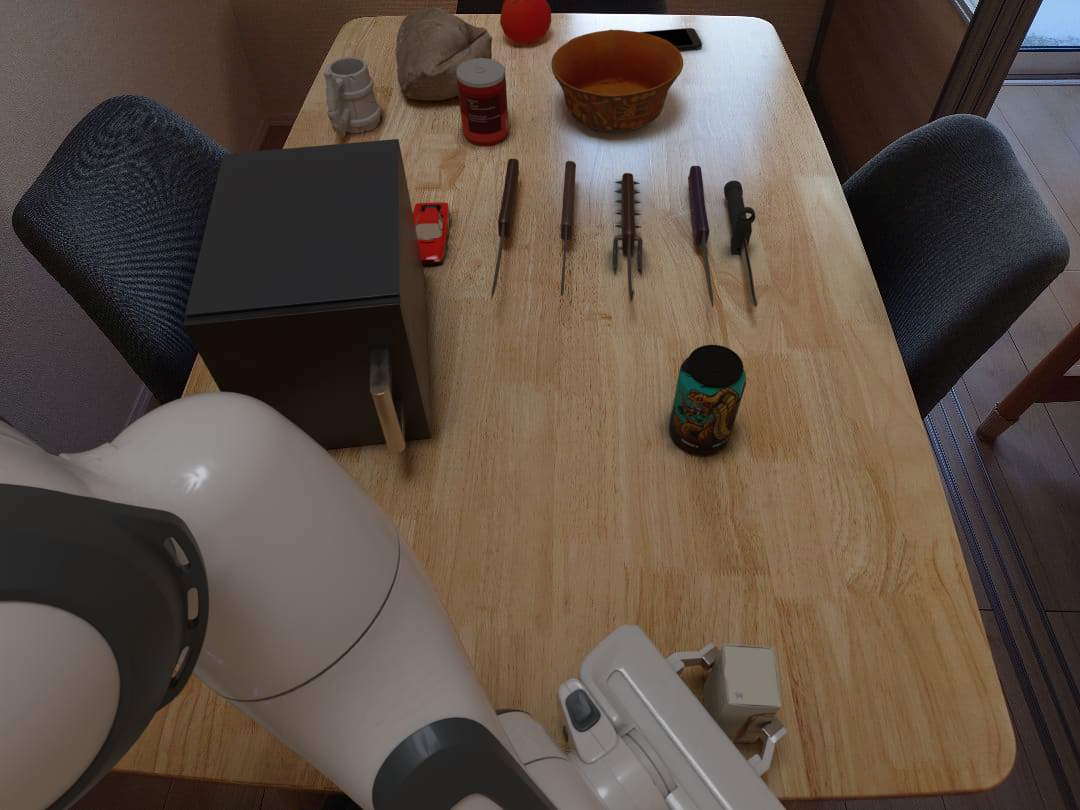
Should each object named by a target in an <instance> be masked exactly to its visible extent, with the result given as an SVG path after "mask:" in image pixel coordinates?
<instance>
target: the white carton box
mask: <svg viewBox="0 0 1080 810" xmlns="http://www.w3.org/2000/svg"><path fill="white" fill-rule="evenodd" d="M719 650H720V652H719V654H718V657H717V659H716V661H715V663H714V665H713V667H712V668H711V669H710V671H709V674H708V676H707V677H706V680H705V683H704V684H703V699H704V701H703V702H704V708H705V709H706V710H707V711H708V713H709V714H710V715H711V716H712V718H713V719H714V720H715V721H716V723H717V724H718V725H719V726H720V728H721V729H722V730H723V731H724V733H725V734H726V735H727V736H728V738H729V739H730V740H731V741H732V743H733V744H735V743H737V744H755V743H756V742H757V741H758V739H759V738H760V736H759V735H758V732H759V731H760V730H761V728H762V727H764V726H765V725H766V724H767V723H770V721H771V720H772V719H773V718H774V717H776V714H777V713H778V712H779V710H780V709H781V708H782V697H781V687H780V679H779V672H778V666H777V665H778V663H777V660H776V654H775V649H774V648H773V647H768V646H767V647H766V646H760V645H759V646H758V645H748V644H738V643H737V644H736V643H723V644H722V646H721V648H720V649H719Z"/></svg>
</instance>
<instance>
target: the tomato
mask: <svg viewBox="0 0 1080 810" xmlns="http://www.w3.org/2000/svg"><path fill="white" fill-rule="evenodd" d="M499 24H500V27H501V29H502V31H503V34H504V35H505V37H507V38H508V39H510V40H511V41H513V42H514V43H518V44H532V43H535V42H538V41H539V40H541V39H543V38H544V37H545V36H546V34H547V32H548V31H549V30H550V28H551V24H552V9H551V6H550V4H549V2H548V1H547V0H504V1H503V3H502V6H501V10H500V19H499Z"/></svg>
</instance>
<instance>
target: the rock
mask: <svg viewBox="0 0 1080 810" xmlns="http://www.w3.org/2000/svg"><path fill="white" fill-rule="evenodd" d="M396 35H397V36H396V45H395V59H396V65H397V68H396V70H397V72H396V73H397V81H398V84H399V88H400V90H401V93H402V94H403V95H405V96H407V97H408V98H409V99H412V100H418V101H428V102H429V101H430V102H433V101H445V100H449V99H452V98H455V97H457V96H459V94H458V85H457V75H456V74H457V72H456V71H457V68H458V66H460V65H461V64H462V63H463V62H466V61H468V60H471V59H477V58H487V59H492V57H493V54H492V53H493V52H492V46H493V45H492V42H493V36H492V35H491V34H490V33H489V31H488V28H485V27H483V26H482V27H479V26H475V25H472V24H470V23H468V22H467V21H465V20H464V19H462V18H461V17H459V16H457V15H454V14H452V13H449V12H447V11H445V9H442V8H440V7H438V6H427V7H423V8H422V7H421V8H417V9H414V10H412V11H411V12H410V13H409V14H407V15H406V16H405V17H404V19H403V20H402V22H401V23H400V25H399V28H398V31H397V34H396ZM492 60H493V59H492Z"/></svg>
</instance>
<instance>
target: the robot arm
mask: <svg viewBox="0 0 1080 810" xmlns="http://www.w3.org/2000/svg"><path fill="white" fill-rule="evenodd" d="M720 650H721V649H720V648H719V647H718V646H717V645H716V644H715V643H714V642H713V641H710V642H709V643H707V644H706V645H705V646H703V647H702V648H701V649H700V650H688V651H687V650H685V651H675V652H673V653H672V654H670V655H669V656H668V657H667V658H666V657H664V655H663V654H662V653H661V651H660V650H659V649H658V648H657V646H656V645H655V644H654V643H653V642H652V640H651V639H650V638H649V636H648V635H647V634H646V633H645V631H644V630H643V629H642V628H641V626H639V625H638V624H633V623H631V624H630V623H624V624H621V625H620V626H618V627H617V628H615V629H614V630H613V631H611V632H610V633H609V634H608V635H607V636H605V637H604V638H603V639H602V640H601V641H600V642H599V643H597V644H596V645H595V646H594V647H593V648H592V649H591V650H590V651H589V652H588V653H587V655H586V656H585V657H584V658H583V660H582V661H581V663H580V666H579V670H578V677H572V678H569V679H567V680H565V681H564V682H562V683H561V684H560V685H559V686H558V688H557V692H556V709H557V714H558V718H559V721H560V725H561V728H562V734H563V738H564V739H565V742H566V744H567V746H568V750H569V751H568V753H565V752H564V750H563V749H562V748H561V746H560V745H559V744H558V743H557V741H556V740H555V738H554V737H553V736H552V735H551V734H550V732H549V731H548V730H547V729H546V727H545V726H544V725H543V724H542V723H541V722H540V721H538V720H537V719H536V718H535V717H534V716H533V715H532V714H530V713H529V712H528V711H525V710H521V709H516V708H500V709H494V707H493V704H492V702H491V700H490V698H489V695H488V694H487V692H486V690H485V688H484V686H483V684H482V682H481V679H480V677H479V675H478V673H477V671H476V669H475V667H474V665H473V663H472V660H471V658H470V656H469V654H468V652H467V650H466V648H465V646H464V644H463V642H462V639H461V638H460V635H459V633H458V631H457V629H456V627H455V625H454V623H453V620H452V618H451V616H450V613H449V612H448V610H447V608H446V606H445V603H444V601H443V599H442V598H441V595H440V593H439V591H438V589H437V588H436V586H435V583H434V582H433V579H432V578H431V576H430V574H429V573H428V571H427V570H426V568H425V566H424V565H423V563H422V561H421V559H420V558H419V556H418V554H417V553H416V551H415V550H414V548H413V547H412V546H411V543H410V542H409V541H408V539H407V537H405V535H404V534H403V532H402V531H401V530H400V528H399V527H398V525H397V524H396V523H395V522H394V520H393V519H392V518H391V517H390V515H388V513H387V512H386V511H385V509H384V508H383V507H382V506H381V505H380V504H379V502H378V501H377V500H376V499H375V498H374V497H373V496H372V494H371V493H369V491H368V490H367V489H366V488H365V487H364V486H363V485H362V484H361V483H360V482H359V481H358V480H357V479H356V478H355V477H354V476H353V474H351V472H350V471H349V470H348V469H347V468H346V467H344V466H343V465H342V464H341V462H339V461H338V459H336V458H335V457H334V456H333V455H332V454H331V453H330V452H329V451H327V449H324V448H323V447H322V446H321V445H319V444H318V443H317V442H316V441H315V440H313V439H312V438H311V437H310V436H309V435H308V434H306V433H305V432H304V431H303V430H302V429H300V428H299V427H298V426H296V425H295V424H294V423H292V422H291V421H290V420H288V419H287V418H286V417H285V416H283V415H282V414H281V413H279V412H278V411H277V410H275V409H274V408H272V407H271V406H269V405H267V404H266V403H264V402H262V401H260V400H258V399H256V398H253V397H250V396H247V395H243V394H238V393H233V392H220V391H206V392H201V393H194V394H190V395H186V396H184V397H180V398H177V399H174V400H172V401H169V402H166V403H163V404H162V405H160V406H157V407H156V408H153V409H152V410H150V411H149V412H147V413H145V414H144V415H142V416H141V417H139V418H138V419H137V420H135V421H133V422H132V423H131V424H129V425H128V426H127V427H126V428H125V429H124V430H122V431H121V432H120V433H119V434H118V435H117V436H116V437H115V438H114V439H112V441H111V442H105V443H103V444H101V445H99V446H97V447H95V448H92V449H88V450H85V451H81V452H75V453H65V452H62V453H60V454H58V455H55V454H51V453H49V452H47V451H46V450H45V449H43V448H42V447H41V446H40V445H39V444H38V443H37V442H35V441H34V440H33V439H31V438H29V437H28V436H27V435H25V434H23V432H20V431H19V430H18V429H16V427H15V426H13V425H12V423H10V422H9V421H8V419H6V418H5V417H3V416H2V415H1V414H0V810H68V809H70V808H71V807H72V806H73V805H75V804H76V803H77V802H79V800H80V799H82V798H83V797H85V795H87V794H88V793H89V792H90V791H91V790H92V789H93V788H94V787H95V786H96V785H97V784H98V783H99V782H100V781H101V780H102V779H103V778H104V777H105V776H107V774H109V773H110V772H111V771H112V769H113V768H114V767H116V766H117V764H119V762H120V761H121V760H122V759H123V758H124V757H125V756H126V754H127V753H128V752H129V751H130V750H131V749H132V748H133V746H134V745H135V744H136V743H137V742H138V740H139V739H140V737H141V736H142V735H143V734H144V732H145V731H146V729H147V728H148V727H149V725H150V723H151V722H152V721H153V719H154V717H155V715H156V713H158V712H159V711H160V710H163V709H164V708H165V707H166V706H168V705H169V704H170V703H172V702H173V701H174V700H175V699H176V698H177V697H178V696H179V695H180V694H181V692H182V691H183V690H184V689H185V687H186V685H188V682H189V680H190V678H191V676H194V678H196V679H198V681H200V682H201V683H202V684H204V685H205V686H206V687H208V688H209V689H210V690H211V691H213V692H214V693H215V694H216V695H218V696H219V697H221V698H222V699H223V700H225V701H226V702H227V703H229V704H230V705H232V706H233V707H234V708H235V709H237V711H239V712H240V713H242V714H243V715H245V717H247V718H248V719H250V720H252V722H254V723H255V724H256V725H258V726H259V727H260V728H262V729H263V730H265V731H266V732H267V733H269V734H270V735H271V736H273V737H274V738H275V739H276V740H278V741H279V742H280V743H282V744H283V745H284V746H285V747H287V748H288V749H289V750H291V751H292V752H294V753H295V754H296V755H297V756H298V757H300V758H301V759H303V760H304V761H305V762H307V763H308V764H309V765H310V766H312V767H313V768H314V769H315V770H317V771H318V772H319V773H321V774H322V775H323V776H324V777H325V778H326V779H328V780H329V781H330V782H331V783H332V784H334V785H335V786H336V787H337V788H338V789H339V790H341V791H342V793H344V794H345V795H346V796H347V797H348V798H350V799H351V800H352V801H353V802H354V803H355V804H357V805H358V806H359V807H360V808H361V809H362V810H787V809H786V807H785V806H784V805H783V803H782V802H781V801H780V800H779V798H778V797H777V796H776V795H775V793H774V792H773V791H772V790H771V789H770V788H769V786H768V785H767V783H766V782H765V780H763V779H762V777H763V775H765V773H767V772H768V770H769V769H770V767H771V763H772V761H773V755H774V752H775V747H776V744H778V743H779V742H780V741H781V740H782V739H784V738H785V737H786V735H788V733H789V732H790V731H789V730H788V728H787V727H786V726H785V725H784V724H783V723H782V722H781V720H780V719H779V718H778V717H777V716H774V717H773V718H772V720H771V721H770V723H767V724H766V725H765V726H764V727H762V728H761V730H760V731H759V732H758V735H759V738H760V739H761V740H762V742H763V743H762V747H761V751H760V754H758V753H755V754H754V755H753V756H751V757H750V758H749V759H746V757H745V756H744V755H743V754H742V753H741V751H740V750H739V748H737V746H736V745H735V743H734V742H732V741H731V740H730V739H729V738H728V736H727V735H726V734H725V733H724V731H723V730H722V729H721V728H720V726H719V725H718V724H717V723H716V721H715V720H714V719H713V718H712V716H711V715H710V714H709V713H708V711H707V710H706V709H705V705H703V704H702V703H701V701H700V700H699V699H698V698H697V696H696V695H695V693H694V692H693V691H692V690H691V689H690V687H689V686H688V685H687V684H686V682H685V681H684V680H683V678H681V675H682V674H683V670H684V668H687V667H695V666H700V667H701V668H702V669H703V670H704V671H705V673H707V672H710V671H711V670H712V667H713V665H714V663H715V661H716V659H717V657H718V654H719V652H720ZM177 665H178V666H179V668H178V670H177V672H176V674H175V675H174V672H175V670H176V668H177ZM173 675H174V676H173Z"/></svg>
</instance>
